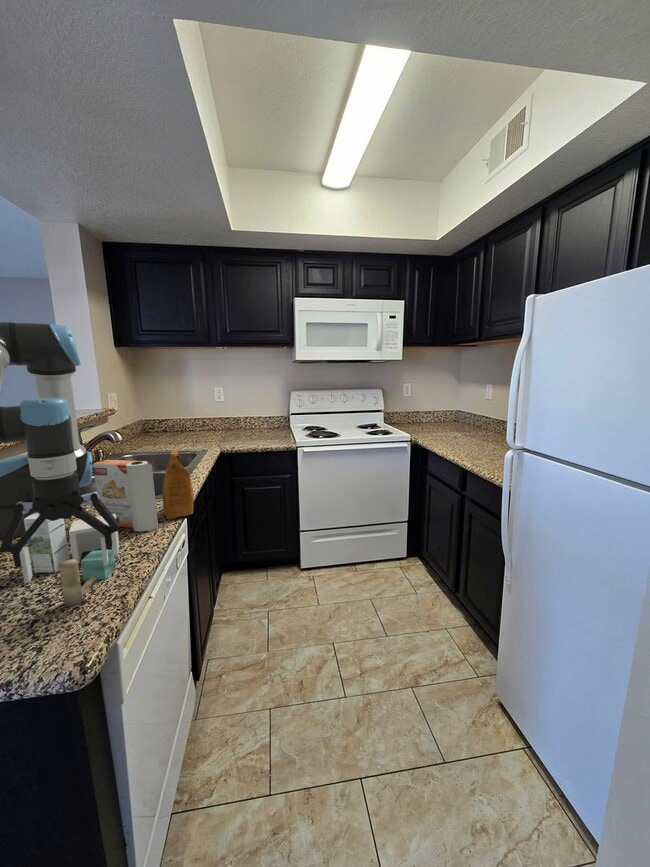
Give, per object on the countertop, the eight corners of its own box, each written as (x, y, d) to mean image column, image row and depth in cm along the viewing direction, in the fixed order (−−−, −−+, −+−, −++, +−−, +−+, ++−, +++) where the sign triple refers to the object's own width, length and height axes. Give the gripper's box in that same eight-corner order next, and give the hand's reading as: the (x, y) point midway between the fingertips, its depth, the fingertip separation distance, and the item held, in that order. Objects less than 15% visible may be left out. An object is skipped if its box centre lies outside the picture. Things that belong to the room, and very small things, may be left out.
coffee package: (193, 505, 134) (188, 447, 130) (195, 516, 122) (190, 453, 119) (164, 509, 130) (158, 450, 126) (164, 522, 118) (157, 457, 115)
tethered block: (94, 569, 90) (90, 535, 88) (115, 568, 90) (111, 534, 89) (56, 607, 75) (50, 568, 73) (81, 605, 75) (76, 566, 74)
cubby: (77, 551, 99) (73, 520, 98) (119, 543, 104) (115, 513, 102) (73, 564, 92) (68, 531, 91) (118, 555, 97) (114, 523, 95)
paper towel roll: (131, 528, 114) (123, 462, 111) (151, 522, 118) (144, 459, 115) (137, 535, 109) (129, 466, 105) (158, 529, 113) (151, 463, 109)
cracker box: (100, 526, 116) (91, 463, 113) (115, 518, 122) (107, 458, 118) (135, 529, 112) (127, 464, 109) (149, 521, 118) (142, 460, 115)
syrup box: (71, 561, 94) (63, 508, 92) (55, 573, 88) (46, 517, 86) (49, 562, 94) (40, 509, 91) (31, 574, 88) (22, 518, 86)
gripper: (-36, 490, 63) (-15, 598, 67) (124, 470, 75) (135, 563, 79) (-21, 478, 70) (-2, 577, 74) (125, 462, 81) (135, 549, 85)
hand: (69, 570), depth 76 cm, fingers open, 13 cm apart
